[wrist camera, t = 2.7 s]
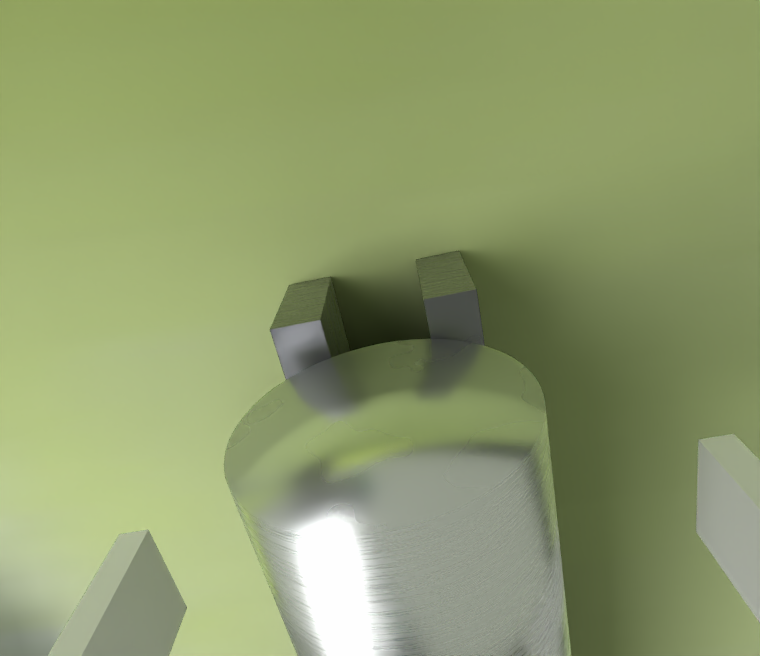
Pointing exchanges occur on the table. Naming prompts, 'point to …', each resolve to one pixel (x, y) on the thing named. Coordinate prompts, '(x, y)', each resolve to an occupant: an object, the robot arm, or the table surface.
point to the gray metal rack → (325, 326)
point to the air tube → (406, 504)
